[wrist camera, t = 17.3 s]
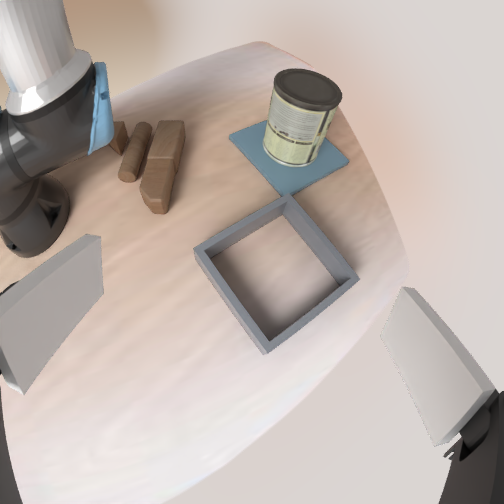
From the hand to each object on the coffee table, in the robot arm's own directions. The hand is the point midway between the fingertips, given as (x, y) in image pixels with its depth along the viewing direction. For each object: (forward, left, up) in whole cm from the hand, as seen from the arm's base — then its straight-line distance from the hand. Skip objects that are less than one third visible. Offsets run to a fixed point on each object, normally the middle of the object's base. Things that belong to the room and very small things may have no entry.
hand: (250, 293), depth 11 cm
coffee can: (-21, +27, -26) cm, 43 cm away
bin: (-4, +11, -27) cm, 29 cm away
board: (-21, +28, -27) cm, 44 cm away
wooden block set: (-33, +2, -27) cm, 43 cm away
